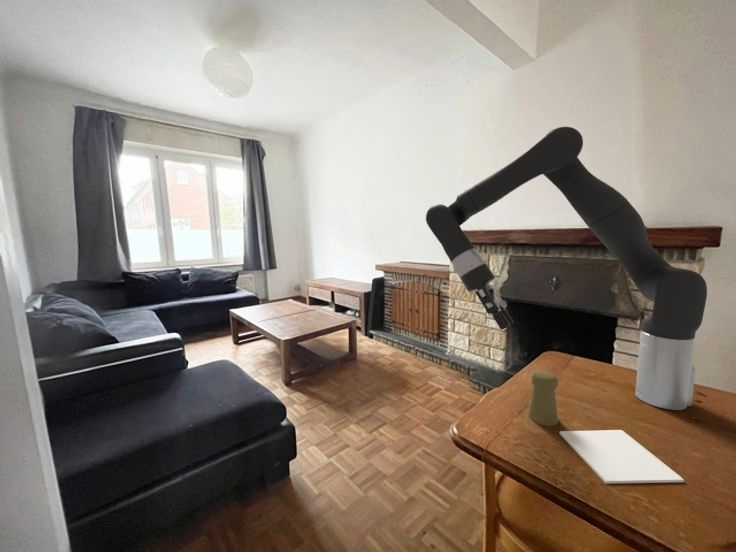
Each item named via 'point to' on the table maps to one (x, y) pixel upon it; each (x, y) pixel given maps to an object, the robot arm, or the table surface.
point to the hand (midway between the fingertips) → (507, 326)
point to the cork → (544, 399)
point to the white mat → (619, 457)
